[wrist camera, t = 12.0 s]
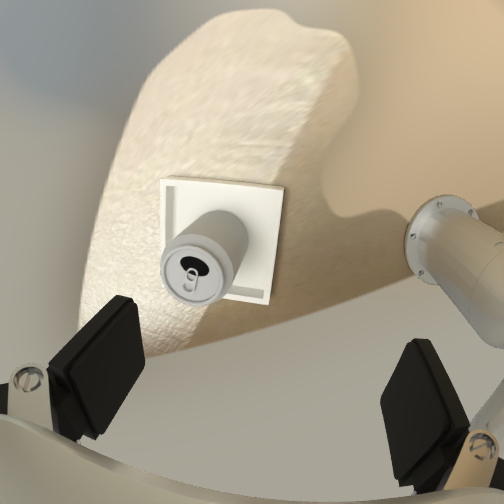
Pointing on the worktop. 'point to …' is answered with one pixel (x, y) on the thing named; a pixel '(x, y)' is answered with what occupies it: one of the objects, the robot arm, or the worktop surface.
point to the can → (204, 258)
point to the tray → (239, 205)
